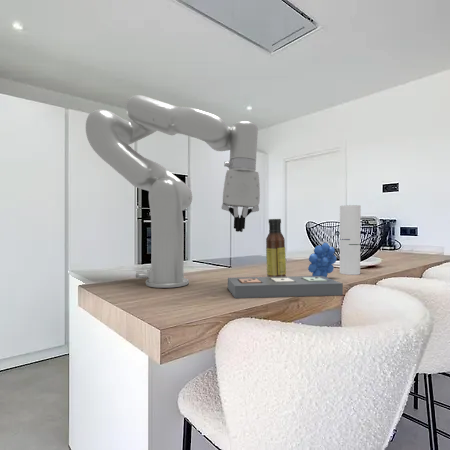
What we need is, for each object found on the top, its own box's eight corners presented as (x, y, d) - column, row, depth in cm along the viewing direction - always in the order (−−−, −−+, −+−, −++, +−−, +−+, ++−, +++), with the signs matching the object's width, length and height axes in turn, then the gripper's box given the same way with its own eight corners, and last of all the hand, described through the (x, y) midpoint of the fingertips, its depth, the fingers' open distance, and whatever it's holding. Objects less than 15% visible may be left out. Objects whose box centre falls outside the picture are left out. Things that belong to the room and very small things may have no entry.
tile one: (276, 293, 83) (276, 280, 83) (270, 289, 88) (270, 277, 88) (294, 292, 84) (294, 280, 84) (288, 288, 88) (288, 277, 88)
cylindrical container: (342, 271, 123) (342, 206, 123) (362, 272, 119) (362, 206, 119) (337, 273, 117) (337, 205, 117) (357, 275, 113) (357, 205, 113)
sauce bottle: (285, 277, 108) (285, 219, 108) (286, 281, 102) (287, 218, 102) (265, 277, 108) (265, 218, 108) (266, 280, 102) (266, 218, 102)
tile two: (309, 292, 84) (309, 280, 84) (302, 288, 89) (302, 277, 89) (327, 291, 85) (327, 279, 85) (319, 287, 90) (319, 276, 90)
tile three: (242, 293, 82) (242, 281, 82) (238, 289, 87) (238, 278, 87) (261, 293, 82) (261, 281, 82) (256, 289, 87) (256, 278, 87)
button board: (234, 298, 78) (234, 285, 78) (227, 288, 90) (227, 277, 90) (342, 295, 82) (342, 283, 82) (322, 286, 94) (322, 275, 94)
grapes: (326, 276, 112) (326, 241, 112) (341, 279, 106) (341, 242, 106) (300, 278, 106) (300, 242, 106) (314, 281, 100) (314, 243, 100)
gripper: (217, 162, 86) (213, 230, 86) (271, 166, 87) (267, 233, 88) (215, 167, 94) (212, 229, 94) (265, 170, 95) (262, 232, 95)
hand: (238, 231), depth 91 cm, fingers closed
